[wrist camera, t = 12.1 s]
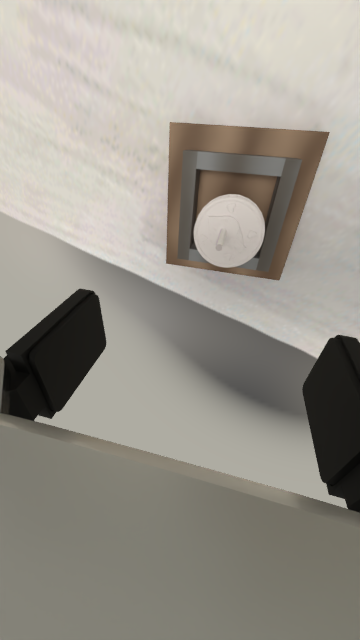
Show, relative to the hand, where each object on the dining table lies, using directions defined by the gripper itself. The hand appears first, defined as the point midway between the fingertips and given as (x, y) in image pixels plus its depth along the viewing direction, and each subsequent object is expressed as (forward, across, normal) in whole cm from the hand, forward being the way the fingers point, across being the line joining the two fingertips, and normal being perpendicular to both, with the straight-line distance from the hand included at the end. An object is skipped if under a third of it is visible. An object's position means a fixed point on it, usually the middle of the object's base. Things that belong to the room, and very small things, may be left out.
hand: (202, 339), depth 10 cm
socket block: (+26, 0, 0) cm, 26 cm away
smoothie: (+25, 0, 0) cm, 25 cm away
